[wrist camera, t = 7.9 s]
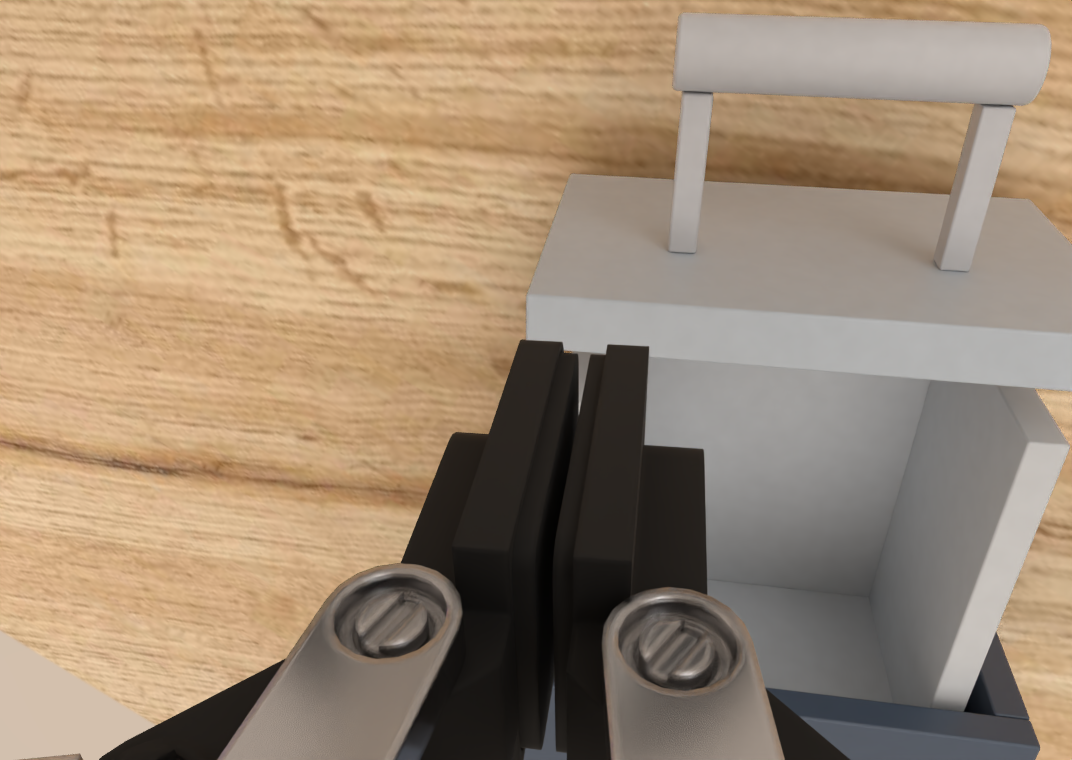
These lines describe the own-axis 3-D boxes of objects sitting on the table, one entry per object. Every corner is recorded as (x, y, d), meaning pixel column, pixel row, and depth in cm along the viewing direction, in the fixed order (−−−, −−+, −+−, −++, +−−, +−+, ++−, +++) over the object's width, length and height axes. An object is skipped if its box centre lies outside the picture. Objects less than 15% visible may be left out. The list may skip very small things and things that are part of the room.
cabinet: (546, 457, 29) (495, 678, 21) (944, 495, 28) (1042, 748, 20) (541, 738, 37) (502, 975, 29) (853, 780, 35) (898, 1042, 28)
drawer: (574, -24, 21) (526, 35, 14) (1095, -9, 19) (1286, 62, 13) (559, 557, 30) (524, 741, 24) (905, 595, 29) (963, 800, 23)
